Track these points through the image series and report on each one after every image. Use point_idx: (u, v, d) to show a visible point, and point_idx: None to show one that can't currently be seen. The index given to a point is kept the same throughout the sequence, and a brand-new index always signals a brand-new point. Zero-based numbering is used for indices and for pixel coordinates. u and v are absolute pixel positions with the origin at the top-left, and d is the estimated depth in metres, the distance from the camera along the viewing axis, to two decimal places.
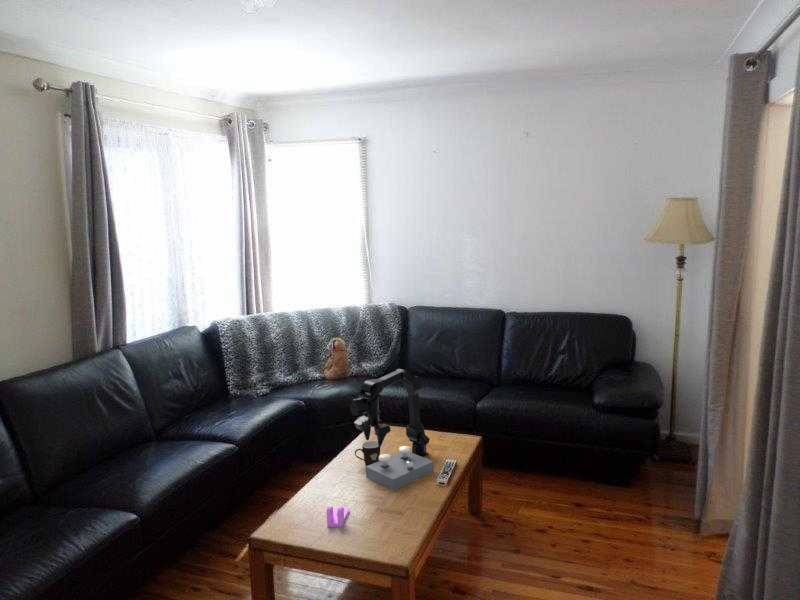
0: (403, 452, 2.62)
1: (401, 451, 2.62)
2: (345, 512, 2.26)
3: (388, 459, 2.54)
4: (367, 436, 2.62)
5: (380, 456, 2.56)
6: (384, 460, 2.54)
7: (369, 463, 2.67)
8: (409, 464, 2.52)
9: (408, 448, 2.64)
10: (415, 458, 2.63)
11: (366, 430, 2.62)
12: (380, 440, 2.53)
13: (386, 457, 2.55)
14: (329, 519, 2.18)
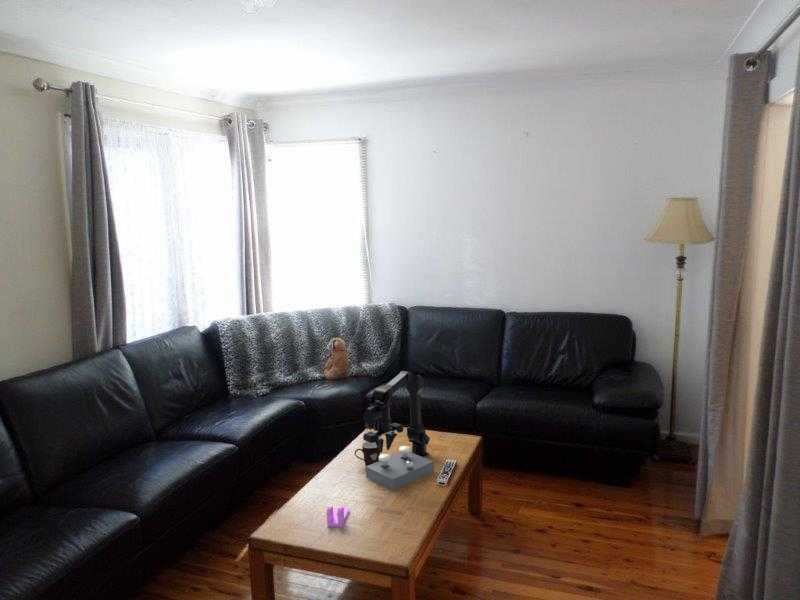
0: (403, 452, 2.62)
1: (401, 451, 2.62)
2: (345, 512, 2.26)
3: (388, 459, 2.54)
4: (387, 445, 2.57)
5: (380, 456, 2.56)
6: (384, 460, 2.54)
7: (369, 463, 2.67)
8: (409, 464, 2.52)
9: (408, 448, 2.64)
10: (415, 458, 2.63)
11: (388, 439, 2.57)
12: (378, 446, 2.53)
13: (386, 457, 2.55)
14: (329, 519, 2.18)
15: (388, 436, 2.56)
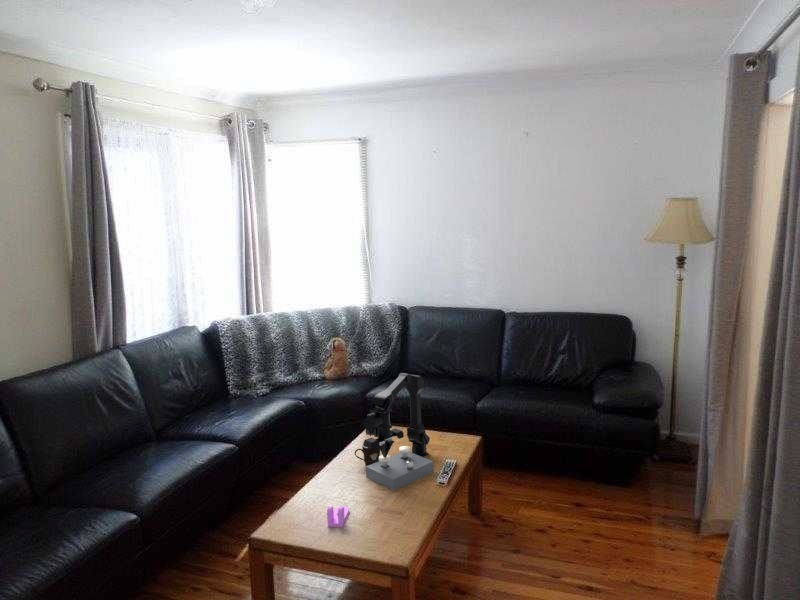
0: (403, 452, 2.62)
1: (401, 451, 2.62)
2: (345, 512, 2.26)
3: (388, 460, 2.54)
4: None
5: (380, 457, 2.56)
6: (384, 461, 2.54)
7: (369, 463, 2.67)
8: (409, 464, 2.52)
9: (408, 448, 2.64)
10: (415, 458, 2.63)
11: None
12: (381, 451, 2.55)
13: (386, 458, 2.55)
14: (330, 519, 2.18)
15: (385, 443, 2.55)
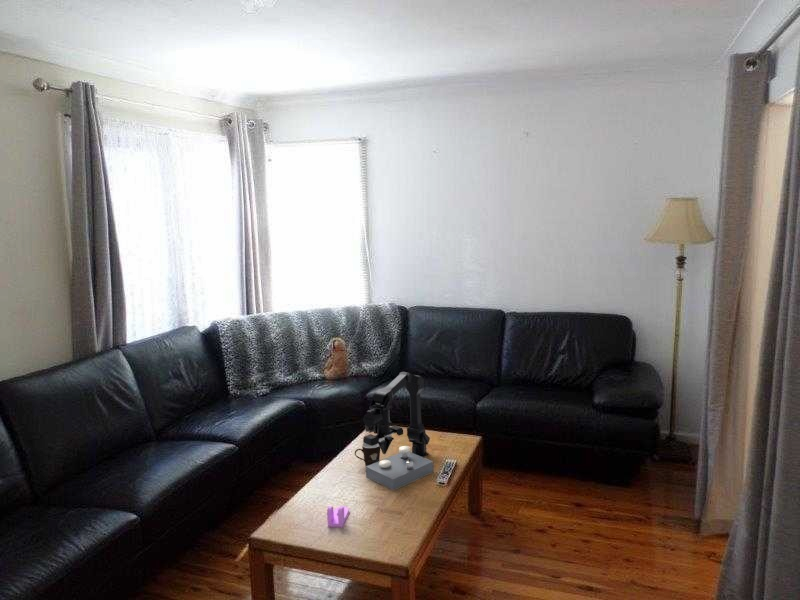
0: (403, 452, 2.62)
1: (401, 451, 2.62)
2: (345, 512, 2.26)
3: (388, 465, 2.55)
4: None
5: (380, 462, 2.56)
6: (384, 466, 2.54)
7: (369, 463, 2.67)
8: (409, 464, 2.52)
9: (408, 448, 2.64)
10: (415, 458, 2.63)
11: None
12: (381, 448, 2.55)
13: (386, 463, 2.55)
14: (330, 519, 2.18)
15: (385, 440, 2.55)
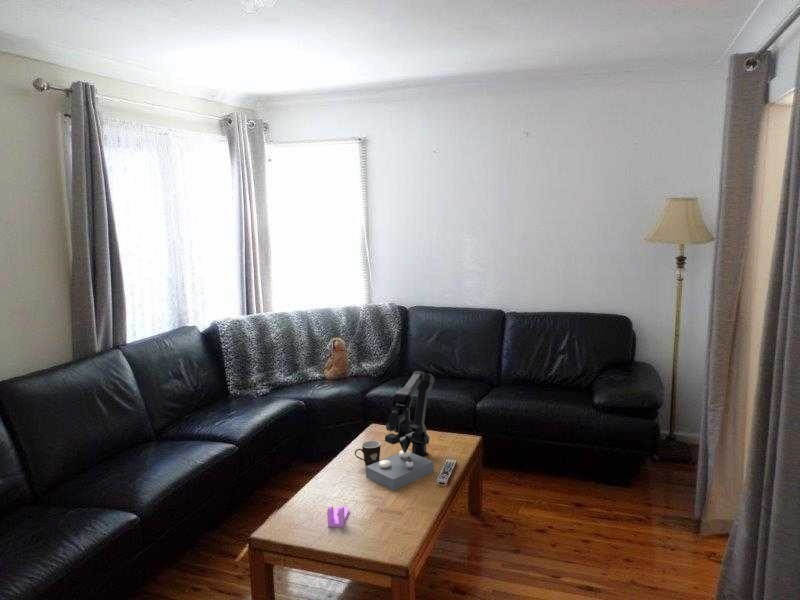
0: (403, 456, 2.62)
1: (401, 455, 2.62)
2: (345, 512, 2.26)
3: (388, 465, 2.55)
4: None
5: (380, 462, 2.56)
6: (384, 466, 2.54)
7: (369, 463, 2.67)
8: (409, 464, 2.52)
9: (408, 452, 2.64)
10: (415, 458, 2.63)
11: None
12: (402, 446, 2.63)
13: (386, 463, 2.55)
14: (330, 519, 2.18)
15: (405, 438, 2.64)
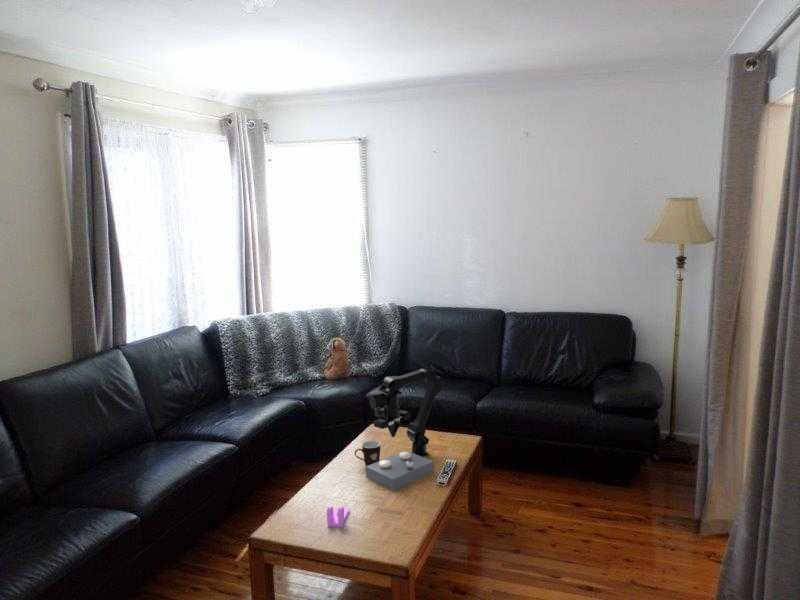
0: (403, 458, 2.62)
1: (401, 457, 2.62)
2: (345, 512, 2.26)
3: (388, 465, 2.55)
4: None
5: (380, 462, 2.56)
6: (384, 466, 2.54)
7: (369, 463, 2.67)
8: (409, 464, 2.52)
9: (408, 454, 2.64)
10: (415, 458, 2.63)
11: None
12: (390, 431, 2.69)
13: (386, 463, 2.55)
14: (329, 519, 2.18)
15: (393, 423, 2.70)
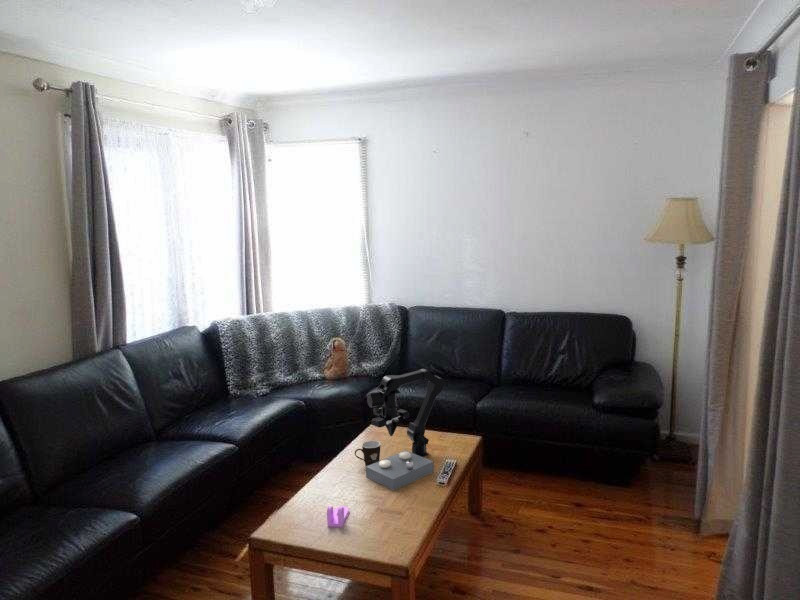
0: (403, 458, 2.62)
1: (401, 457, 2.62)
2: (345, 512, 2.26)
3: (388, 465, 2.55)
4: None
5: (380, 462, 2.56)
6: (384, 466, 2.54)
7: (369, 463, 2.67)
8: (409, 464, 2.52)
9: (408, 454, 2.64)
10: (415, 458, 2.63)
11: None
12: (388, 430, 2.70)
13: (386, 463, 2.55)
14: (329, 519, 2.18)
15: (391, 422, 2.71)
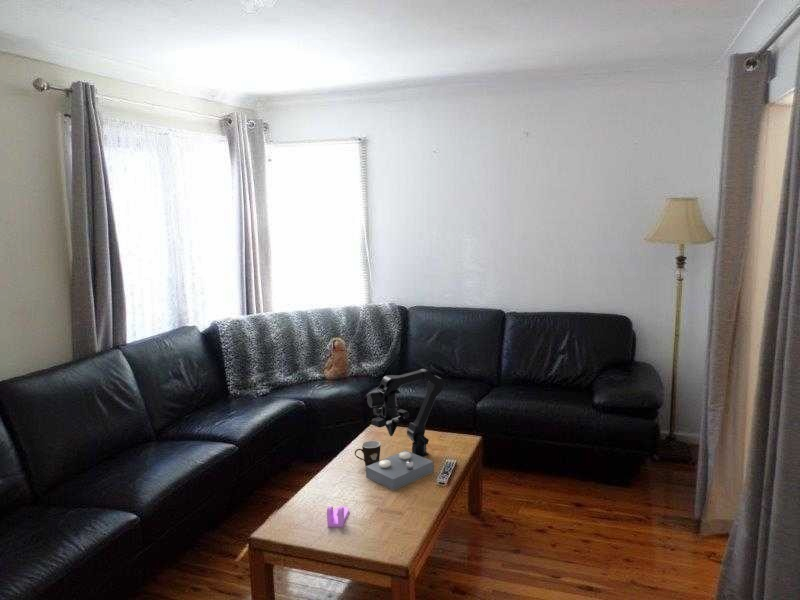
0: (403, 458, 2.62)
1: (401, 457, 2.62)
2: (345, 512, 2.26)
3: (388, 465, 2.55)
4: None
5: (380, 462, 2.56)
6: (384, 466, 2.54)
7: (369, 463, 2.67)
8: (409, 464, 2.52)
9: (408, 454, 2.64)
10: (415, 458, 2.63)
11: None
12: (388, 430, 2.70)
13: (386, 463, 2.55)
14: (329, 519, 2.18)
15: (391, 422, 2.71)
